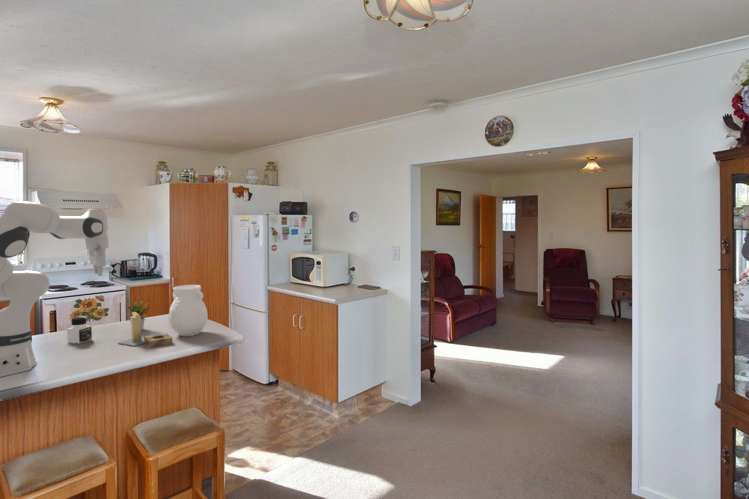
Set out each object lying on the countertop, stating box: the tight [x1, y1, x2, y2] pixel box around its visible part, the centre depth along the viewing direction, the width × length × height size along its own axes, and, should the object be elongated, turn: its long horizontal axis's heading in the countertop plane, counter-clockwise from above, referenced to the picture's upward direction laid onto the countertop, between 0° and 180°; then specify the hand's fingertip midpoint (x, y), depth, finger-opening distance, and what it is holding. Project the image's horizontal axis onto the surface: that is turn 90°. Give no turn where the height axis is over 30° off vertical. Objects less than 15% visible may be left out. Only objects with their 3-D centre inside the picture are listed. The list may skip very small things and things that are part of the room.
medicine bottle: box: [66, 315, 93, 345], centre depth 208 cm, size 7×7×12 cm
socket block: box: [143, 332, 173, 348], centre depth 206 cm, size 10×10×3 cm
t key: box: [130, 312, 142, 342], centre depth 207 cm, size 4×8×14 cm, turn 40°
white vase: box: [168, 284, 209, 337], centre depth 222 cm, size 19×18×25 cm
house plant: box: [124, 299, 151, 331], centre depth 228 cm, size 14×14×16 cm
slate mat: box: [117, 336, 146, 347], centre depth 208 cm, size 11×11×1 cm
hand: (98, 274), depth 197 cm, fingers open, 8 cm apart
